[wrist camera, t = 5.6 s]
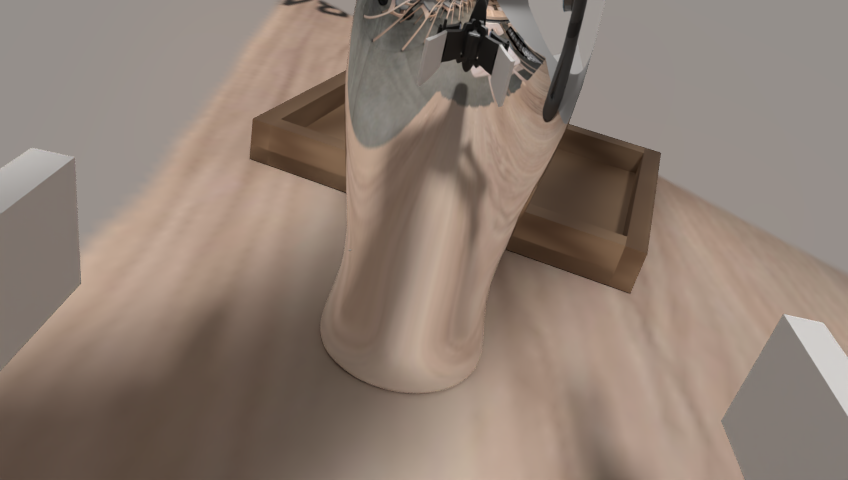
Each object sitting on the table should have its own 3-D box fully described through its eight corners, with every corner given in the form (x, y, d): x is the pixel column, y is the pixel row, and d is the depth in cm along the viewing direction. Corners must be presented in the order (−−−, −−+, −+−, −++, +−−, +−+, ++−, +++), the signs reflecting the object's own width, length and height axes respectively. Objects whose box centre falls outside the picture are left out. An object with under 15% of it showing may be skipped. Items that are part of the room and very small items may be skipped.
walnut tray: (647, 184, 44) (660, 152, 43) (630, 293, 32) (647, 253, 31) (359, 91, 48) (365, 60, 47) (249, 158, 36) (252, 118, 35)
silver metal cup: (430, 272, 30) (524, -105, 23) (528, 378, 26) (687, -54, 18) (278, 297, 27) (330, -142, 19) (359, 427, 22) (469, -90, 14)
